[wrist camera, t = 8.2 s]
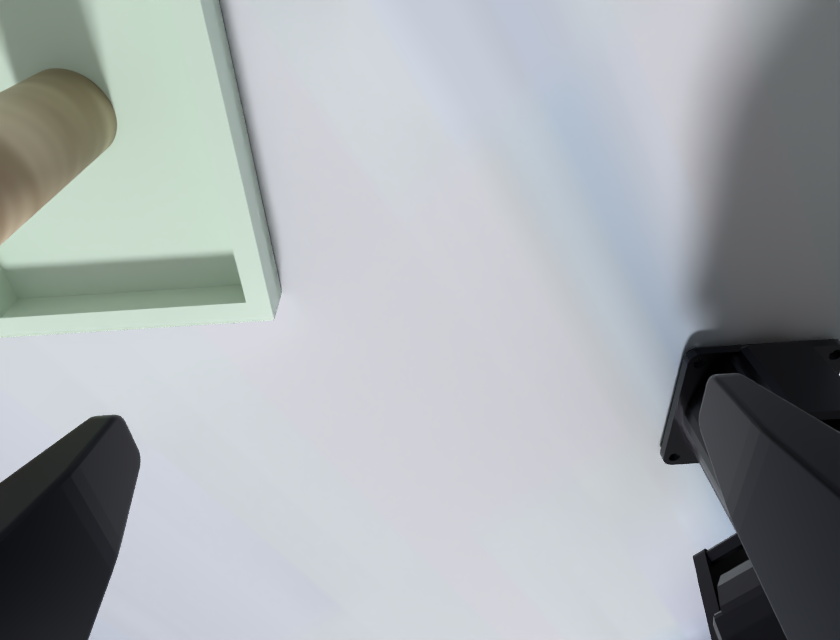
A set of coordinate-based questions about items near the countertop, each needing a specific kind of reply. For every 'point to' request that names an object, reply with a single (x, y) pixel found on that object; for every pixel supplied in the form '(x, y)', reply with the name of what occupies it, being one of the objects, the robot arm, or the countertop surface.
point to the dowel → (48, 140)
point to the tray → (140, 177)
